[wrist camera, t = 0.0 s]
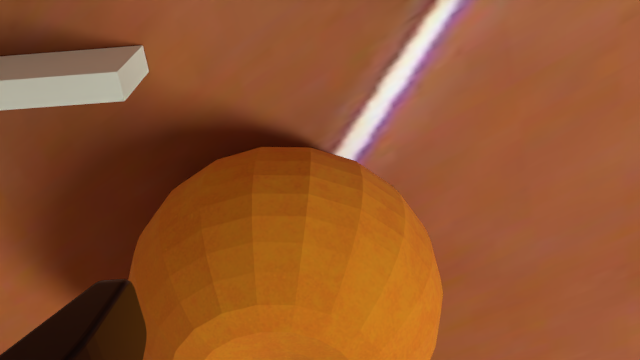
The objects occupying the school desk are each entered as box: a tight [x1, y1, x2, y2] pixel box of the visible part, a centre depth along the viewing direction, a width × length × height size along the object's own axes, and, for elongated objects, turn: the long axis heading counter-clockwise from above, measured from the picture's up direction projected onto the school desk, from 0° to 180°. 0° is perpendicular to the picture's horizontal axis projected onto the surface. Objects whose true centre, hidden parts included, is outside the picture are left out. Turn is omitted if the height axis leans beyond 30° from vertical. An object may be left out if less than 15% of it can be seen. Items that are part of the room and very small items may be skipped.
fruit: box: [128, 147, 443, 360], centre depth 21 cm, size 12×12×10 cm
